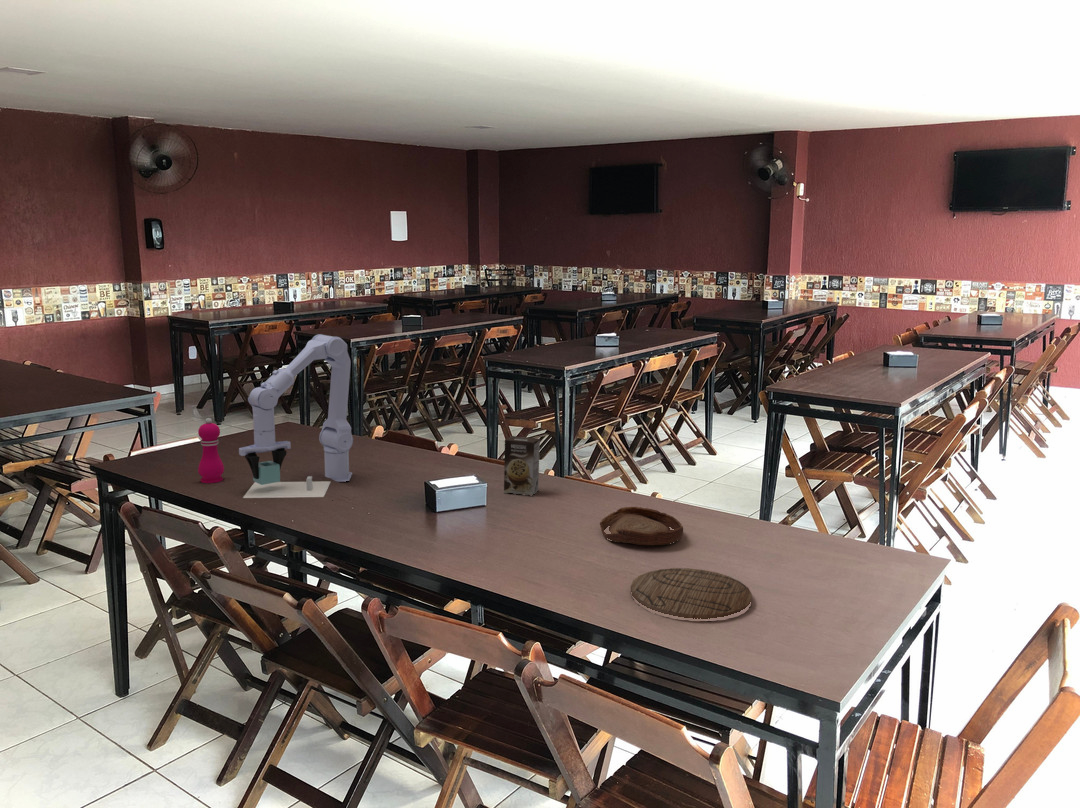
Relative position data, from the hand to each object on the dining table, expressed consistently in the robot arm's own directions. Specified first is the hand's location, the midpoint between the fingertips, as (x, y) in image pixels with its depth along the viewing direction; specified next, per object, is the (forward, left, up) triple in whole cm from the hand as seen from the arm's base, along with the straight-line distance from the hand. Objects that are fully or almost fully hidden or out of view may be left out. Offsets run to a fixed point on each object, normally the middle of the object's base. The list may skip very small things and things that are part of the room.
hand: (266, 476), depth 254 cm
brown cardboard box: (+2, +73, -5) cm, 73 cm away
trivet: (+81, +102, -6) cm, 130 cm away
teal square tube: (0, 0, -1) cm, 1 cm away
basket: (+42, +100, -6) cm, 109 cm away
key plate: (0, +6, -5) cm, 8 cm away
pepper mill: (-11, -18, -5) cm, 22 cm away
